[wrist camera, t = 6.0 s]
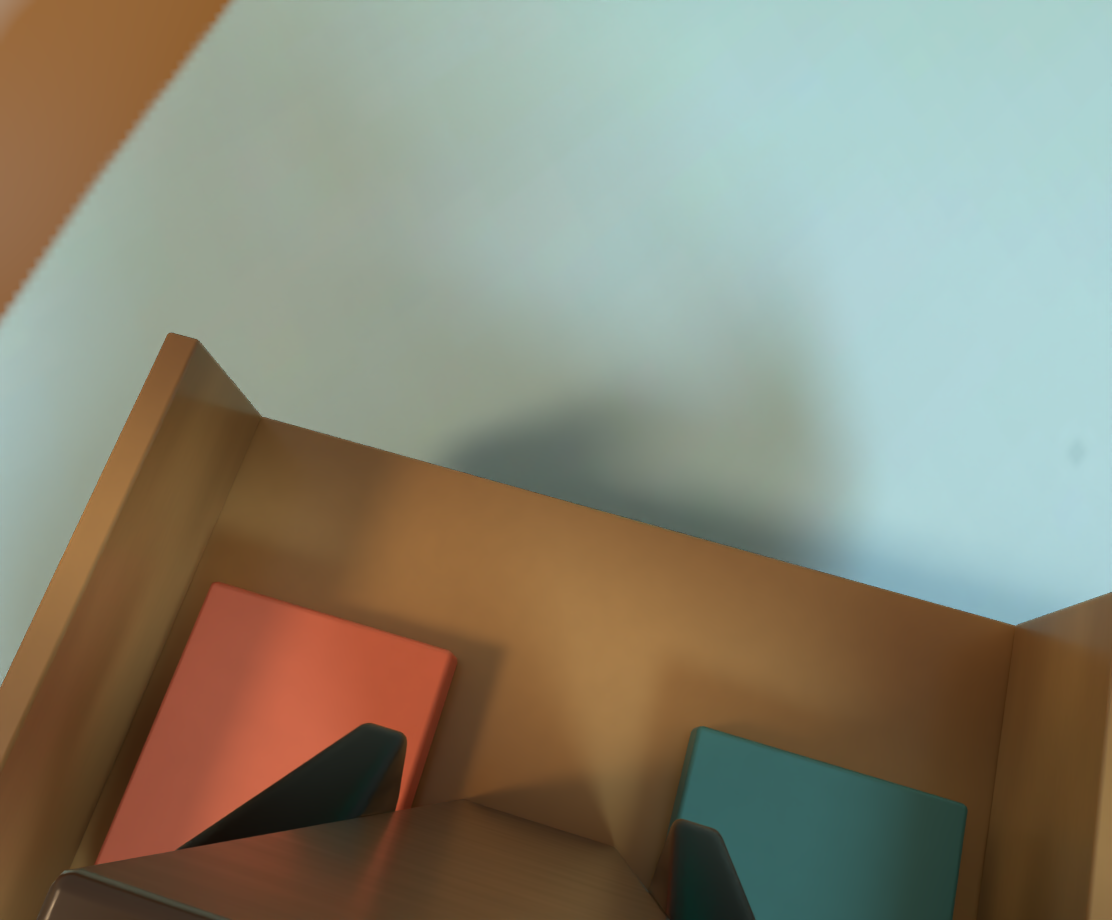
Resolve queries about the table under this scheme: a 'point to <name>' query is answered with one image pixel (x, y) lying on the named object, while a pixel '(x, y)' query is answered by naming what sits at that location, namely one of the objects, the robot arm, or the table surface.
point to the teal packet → (822, 833)
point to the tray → (517, 687)
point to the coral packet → (269, 712)
